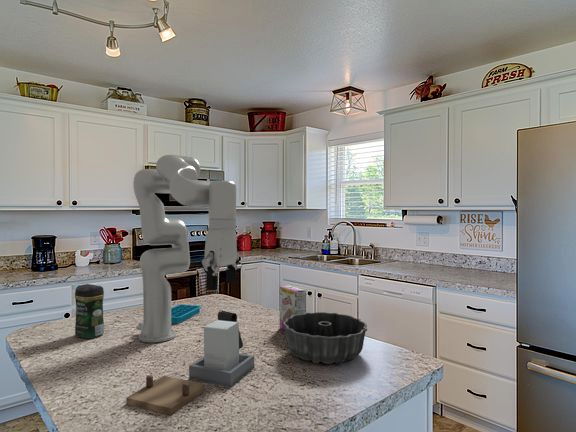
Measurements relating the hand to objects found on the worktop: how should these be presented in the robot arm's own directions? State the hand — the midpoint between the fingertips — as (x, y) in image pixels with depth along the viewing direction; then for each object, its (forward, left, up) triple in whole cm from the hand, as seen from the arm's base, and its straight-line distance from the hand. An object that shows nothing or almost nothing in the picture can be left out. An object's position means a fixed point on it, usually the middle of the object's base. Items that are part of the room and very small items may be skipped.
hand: (221, 286), depth 107 cm
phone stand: (-9, +17, -24) cm, 31 cm away
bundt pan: (+22, +25, -25) cm, 41 cm away
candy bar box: (+4, +42, -24) cm, 49 cm away
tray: (0, 0, -24) cm, 24 cm away
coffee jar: (-62, +9, -24) cm, 67 cm away
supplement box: (0, 0, -23) cm, 23 cm away
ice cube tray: (-48, +42, -25) cm, 68 cm away
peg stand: (-5, -17, -24) cm, 30 cm away
